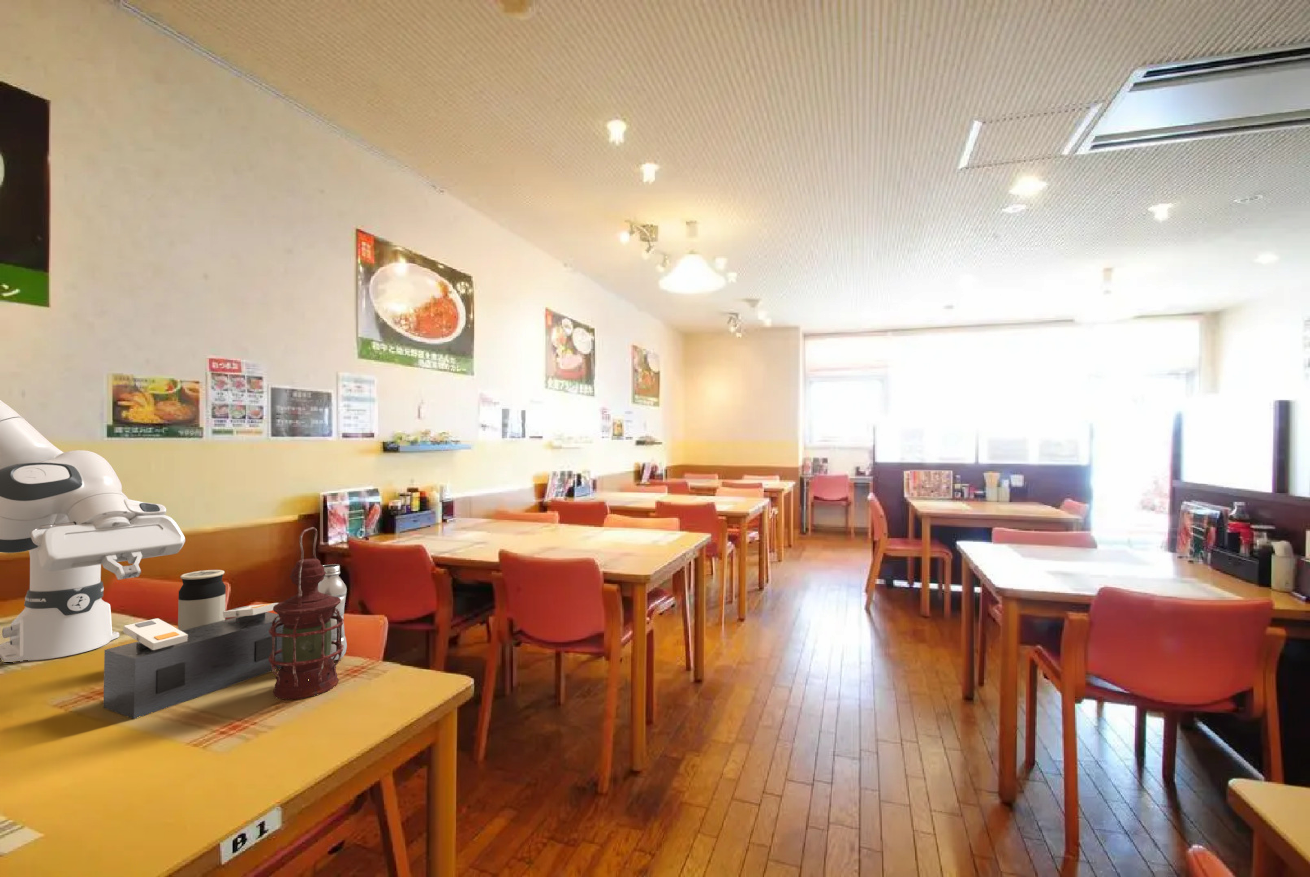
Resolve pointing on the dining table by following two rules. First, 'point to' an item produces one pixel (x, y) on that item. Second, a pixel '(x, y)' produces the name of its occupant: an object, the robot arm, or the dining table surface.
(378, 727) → the dining table surface
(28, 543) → the robot arm
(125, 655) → the switch box
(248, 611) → the block
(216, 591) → the travel mug
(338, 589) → the silver tall rounded piece
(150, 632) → the rocker on
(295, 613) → the lantern
